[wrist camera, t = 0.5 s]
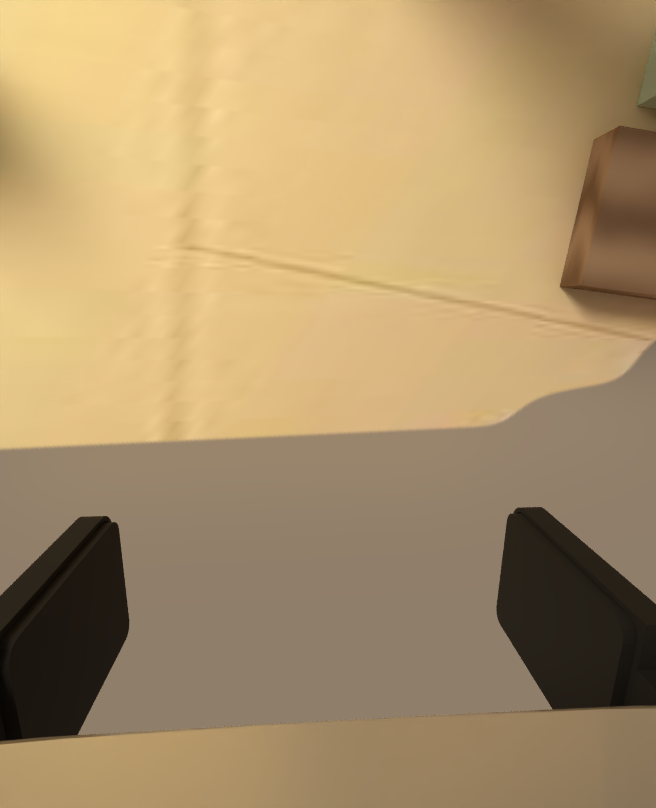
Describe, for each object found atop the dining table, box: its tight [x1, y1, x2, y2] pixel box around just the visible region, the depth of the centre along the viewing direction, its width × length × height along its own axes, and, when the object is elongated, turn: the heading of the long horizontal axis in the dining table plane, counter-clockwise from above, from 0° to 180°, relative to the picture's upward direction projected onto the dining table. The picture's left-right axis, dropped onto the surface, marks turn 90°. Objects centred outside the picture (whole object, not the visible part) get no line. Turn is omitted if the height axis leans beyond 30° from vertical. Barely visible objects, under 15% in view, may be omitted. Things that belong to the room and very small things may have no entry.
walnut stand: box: [560, 126, 656, 299], centre depth 37 cm, size 12×12×3 cm
